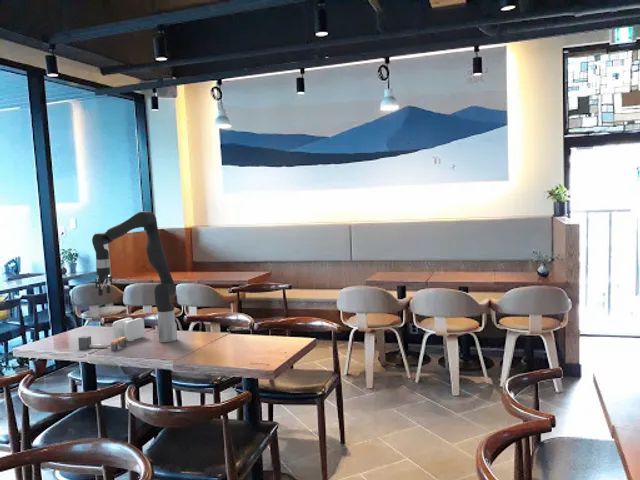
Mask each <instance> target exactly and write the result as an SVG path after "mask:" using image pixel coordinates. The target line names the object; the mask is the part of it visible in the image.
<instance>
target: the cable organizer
mask: <svg viewBox="0 0 640 480" xmlns="http://www.w3.org/2000/svg"><path fill="white" fill-rule="evenodd" d="M111 327H112V338H113V339H112V340H113V341H114V340H116V339H119V338H121V337H126V342H133V341H135V340H139V339H142V337H144V336H145V334H146V333H145V320H144V318H142V317H138V318H135V319H133V318H132V317H125V318H122V319H118V320H115V321H113V323H112V325H111Z"/></svg>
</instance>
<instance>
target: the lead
mask: <svg viewBox="0 0 640 480" xmlns="http://www.w3.org/2000/svg"><path fill="white" fill-rule="evenodd" d="M77 340H78V349H79V350H81V349H82V350H83V349H84V350H88V349H90V348H91V349H107V348H108V344H107V343H104V344H103V343H95V344H93V343H92V336H91V335H82V336H80V337H78V338H77Z"/></svg>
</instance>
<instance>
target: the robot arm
mask: <svg viewBox="0 0 640 480" xmlns="http://www.w3.org/2000/svg"><path fill="white" fill-rule="evenodd" d="M157 222H158V221H157V218H156V215H155V213H154V212H152V211H150V210H149V211H148V210H143V211H138V212H136V213H135V214H134V215H132V216H131V217H129V218H128V219H126V220H124V221H122V222H121V223H119V224H117V225H114V226H112V227H110V228H108V229H107V230H106V231H105V232H104V231H103V232H95V233H94V234H93V236H92V239H91V243H92V246H93V250H94V252H95V260H96V261H95V267H96V268H95V270H96V273H95V274H96V276H98V277H97V278H96V277H95V279H94V281H95V282H94V283H95V289H96V290H97V291H98V293H97V294H98V296H100V297H101V296H103V292H104V291H103V287H104V286H105V288H106V293H107V294H112V293H111V292H112V291H111V287H112V286H113V283H114V282H113V276H112V274H111V262H110V253H109V250H108V249H107V248H105V246H104V245H108V244H110V243H112V242H113V241H115V240H117V239H119V238H121V237H124V236H125V235H126V234H128V233H129V232H131V231H132V230H135V229H141V228H144V229H145V231H146V236H147V238H146V240H147V241H146V247H145V249H146V257H147V259H148V262H149V264H150V265H151V267H152V268H153V269H154V270H155V272H156V273H157V274H158V278H159V280H160V283H158V284H156V285H155V287H154V290H153V291H154V302H155V303H154V304H155V307H156V309H157V324H158V325H157V326H158V327H157V330H158V342H159V343H171V342H172V343H173V342H175V341H176V340H178V333H177V332H178V326H177V322H176V318H175V315H176V314H175V306H174V304H172V303H171V302H170V298H173V297H174V296H175V295H176V292H177V289H176V284H175V282H174V280H173V276H172V275H171V272H170V268H169V265H168V262H167V258H166V254H165V251H164V247H163V245H162V240H161V238H160V237H161V236H160V233H159V228H158V223H157Z"/></svg>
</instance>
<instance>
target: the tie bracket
mask: <svg viewBox="0 0 640 480" xmlns="http://www.w3.org/2000/svg"><path fill="white" fill-rule="evenodd" d="M119 346H120V347H127V340H126V337H121V338H119V339H116V340H114V339H113V340H112V341H111V342H110V347H111V348H110V349H111V350H110V351H111V352H112V351H114V352H116V351H117V350H119Z"/></svg>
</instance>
